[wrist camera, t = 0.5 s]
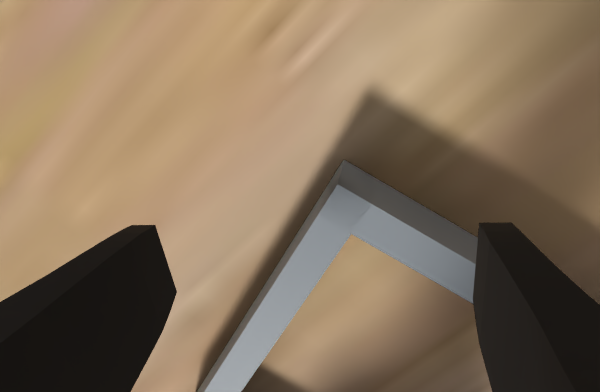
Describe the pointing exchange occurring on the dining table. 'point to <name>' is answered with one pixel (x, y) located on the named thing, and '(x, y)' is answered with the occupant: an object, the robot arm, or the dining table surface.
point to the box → (322, 250)
